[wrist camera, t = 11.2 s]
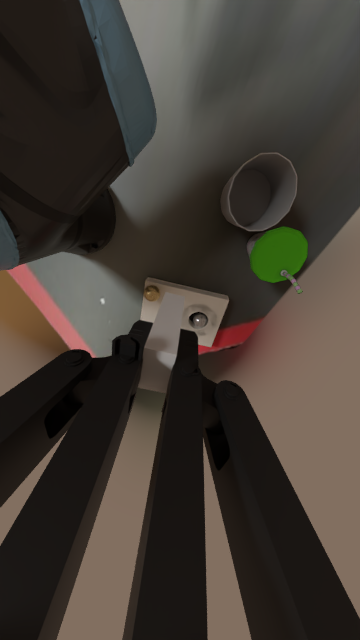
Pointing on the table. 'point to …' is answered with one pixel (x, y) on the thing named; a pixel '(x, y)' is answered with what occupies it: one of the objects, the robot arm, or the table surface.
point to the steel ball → (199, 320)
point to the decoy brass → (152, 293)
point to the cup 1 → (260, 192)
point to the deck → (189, 308)
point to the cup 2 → (277, 254)
